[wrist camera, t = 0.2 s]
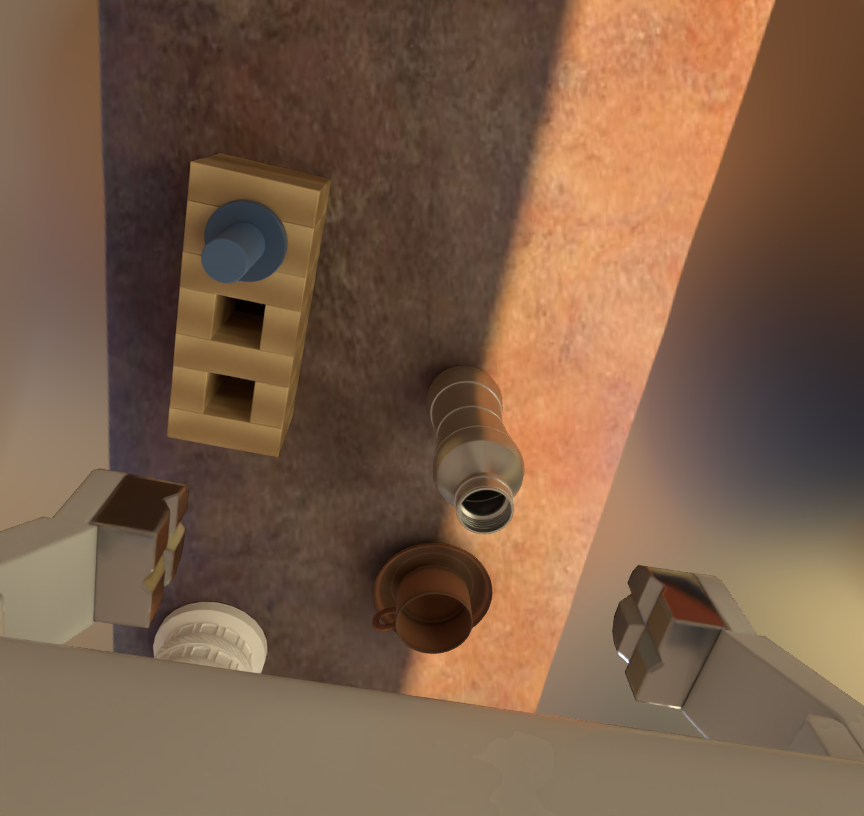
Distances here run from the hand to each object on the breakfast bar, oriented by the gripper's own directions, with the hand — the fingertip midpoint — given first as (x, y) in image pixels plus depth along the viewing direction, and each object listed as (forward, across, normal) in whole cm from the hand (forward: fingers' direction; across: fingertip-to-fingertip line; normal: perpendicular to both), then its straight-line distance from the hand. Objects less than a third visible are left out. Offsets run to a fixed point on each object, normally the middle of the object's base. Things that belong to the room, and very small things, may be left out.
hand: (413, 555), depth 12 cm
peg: (+46, +11, +4) cm, 47 cm away
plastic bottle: (+48, -8, +15) cm, 51 cm away
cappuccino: (+47, -10, -3) cm, 48 cm away
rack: (+48, +11, +10) cm, 50 cm away
